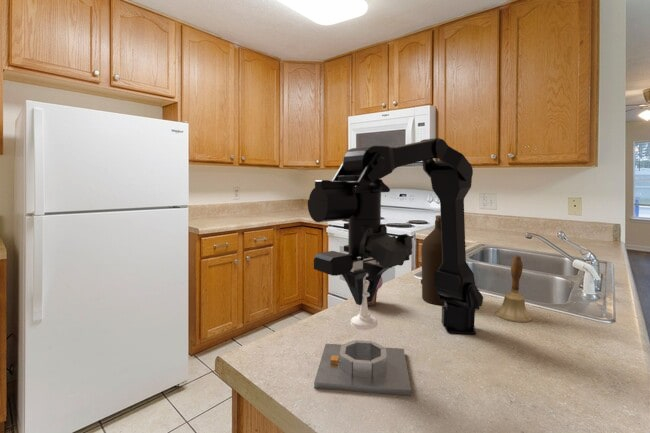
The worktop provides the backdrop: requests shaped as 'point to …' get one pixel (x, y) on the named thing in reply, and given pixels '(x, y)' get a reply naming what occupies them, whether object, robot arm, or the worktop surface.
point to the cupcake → (375, 293)
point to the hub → (363, 368)
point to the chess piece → (364, 312)
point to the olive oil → (431, 263)
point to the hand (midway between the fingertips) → (363, 303)
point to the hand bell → (514, 297)
